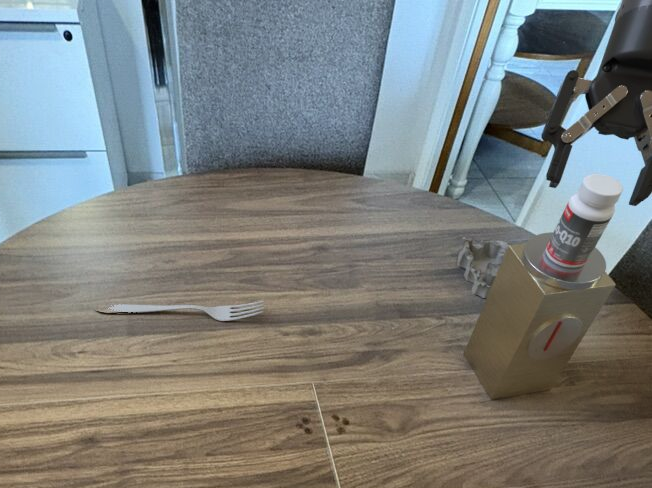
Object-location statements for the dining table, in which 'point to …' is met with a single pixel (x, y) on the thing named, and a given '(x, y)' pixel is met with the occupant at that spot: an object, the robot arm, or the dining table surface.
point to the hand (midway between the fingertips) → (594, 194)
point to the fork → (216, 312)
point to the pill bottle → (584, 221)
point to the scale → (534, 318)
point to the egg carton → (481, 263)
